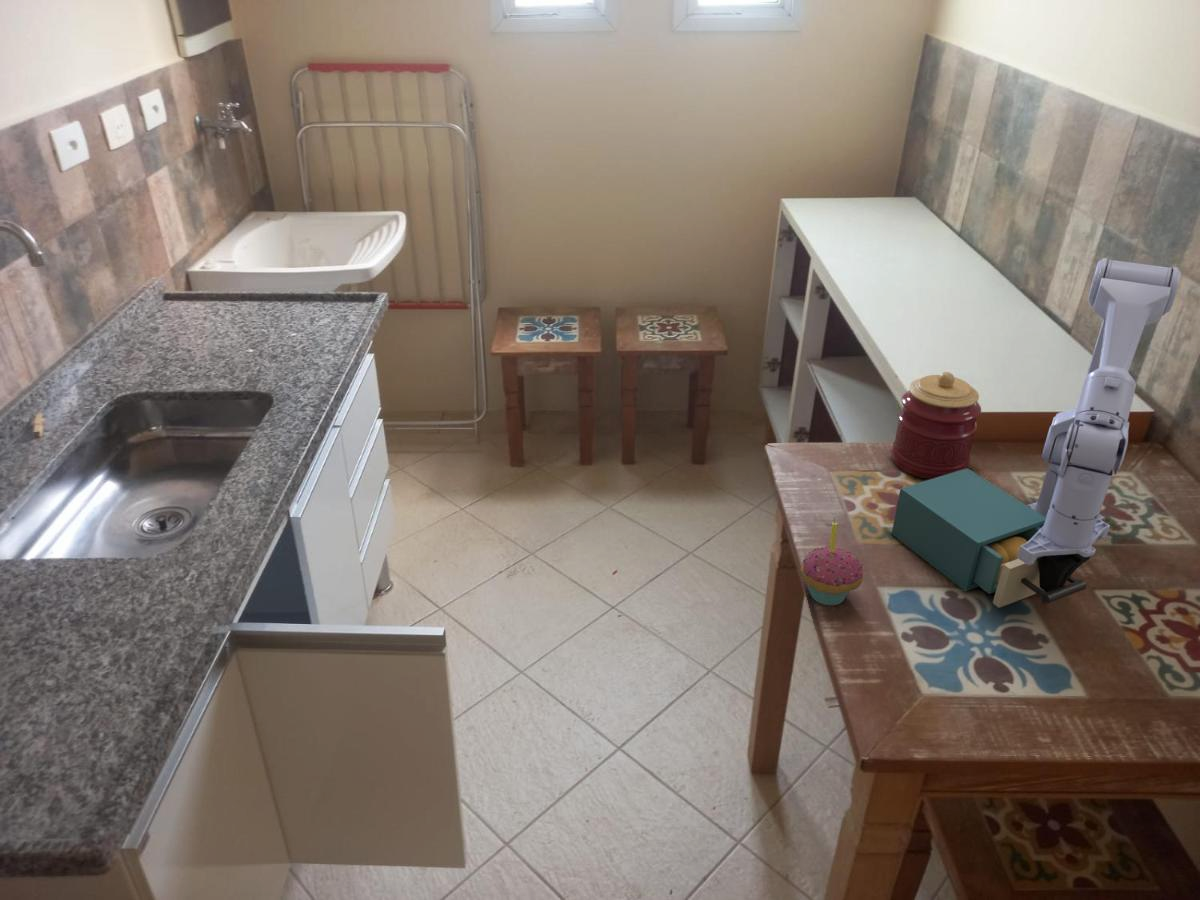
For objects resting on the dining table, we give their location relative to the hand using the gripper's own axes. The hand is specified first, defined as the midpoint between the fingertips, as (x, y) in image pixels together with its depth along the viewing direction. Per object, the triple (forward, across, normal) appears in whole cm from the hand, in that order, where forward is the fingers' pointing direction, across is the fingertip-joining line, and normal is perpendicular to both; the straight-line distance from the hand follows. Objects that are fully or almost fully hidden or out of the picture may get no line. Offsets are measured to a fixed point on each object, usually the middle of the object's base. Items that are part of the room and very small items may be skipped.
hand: (1048, 590), depth 120 cm
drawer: (+3, 0, +7) cm, 7 cm away
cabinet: (+3, 0, +15) cm, 16 cm away
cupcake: (+4, -25, +15) cm, 30 cm away
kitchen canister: (+4, +14, +37) cm, 40 cm away
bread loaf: (+1, 0, +8) cm, 8 cm away
